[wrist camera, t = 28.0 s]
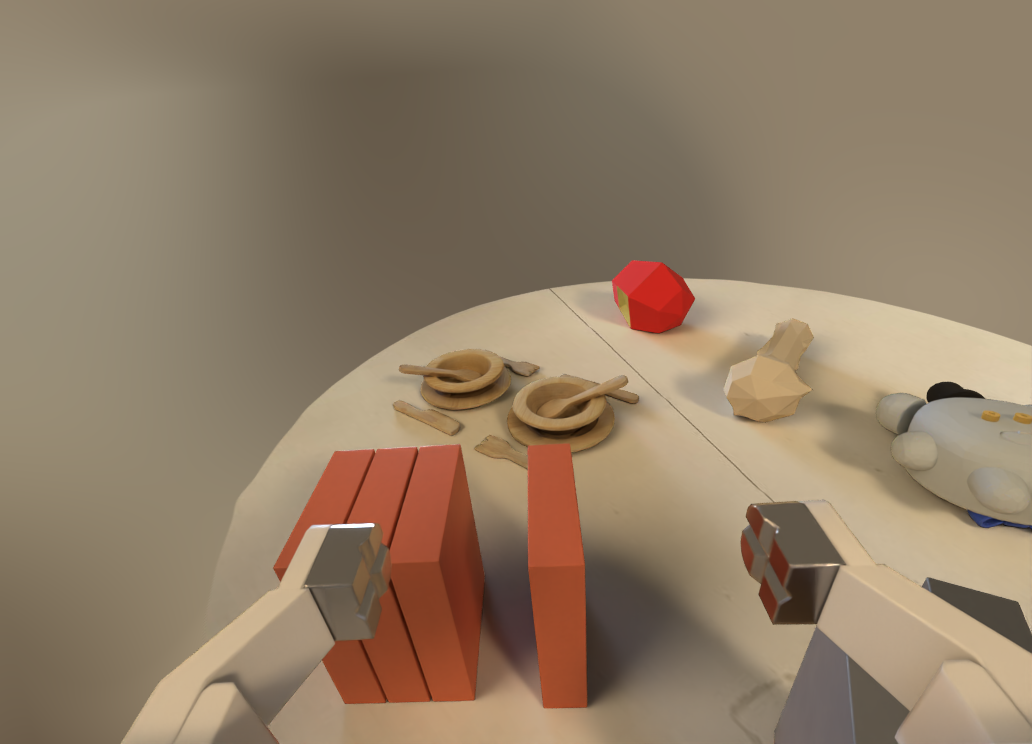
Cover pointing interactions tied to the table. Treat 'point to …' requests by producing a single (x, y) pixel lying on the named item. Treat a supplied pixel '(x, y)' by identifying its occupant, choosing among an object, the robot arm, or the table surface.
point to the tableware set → (517, 402)
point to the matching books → (407, 572)
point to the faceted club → (771, 375)
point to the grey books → (858, 696)
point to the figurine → (965, 450)
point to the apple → (651, 296)
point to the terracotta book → (557, 576)
